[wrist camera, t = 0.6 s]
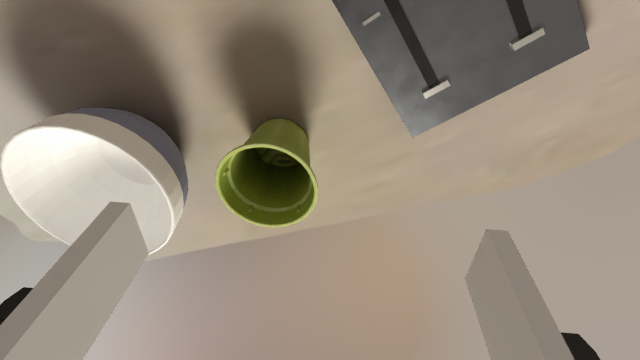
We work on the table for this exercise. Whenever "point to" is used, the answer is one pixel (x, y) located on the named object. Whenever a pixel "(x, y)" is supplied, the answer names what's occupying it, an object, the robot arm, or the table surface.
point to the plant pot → (269, 176)
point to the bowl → (96, 172)
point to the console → (459, 49)
